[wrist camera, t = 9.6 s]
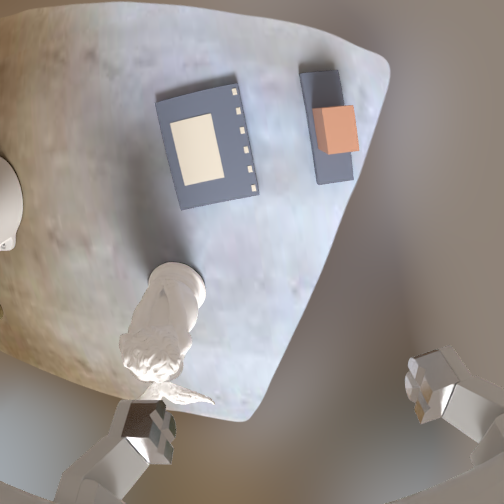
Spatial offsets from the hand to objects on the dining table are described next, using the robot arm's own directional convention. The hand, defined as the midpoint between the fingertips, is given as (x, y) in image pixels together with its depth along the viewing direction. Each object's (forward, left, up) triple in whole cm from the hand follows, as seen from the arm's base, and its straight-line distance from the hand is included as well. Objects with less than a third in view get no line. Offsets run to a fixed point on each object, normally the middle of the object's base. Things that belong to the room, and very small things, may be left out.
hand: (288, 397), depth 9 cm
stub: (+10, +5, -33) cm, 35 cm away
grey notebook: (-5, +5, -33) cm, 34 cm away
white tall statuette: (-13, -15, -33) cm, 39 cm away
